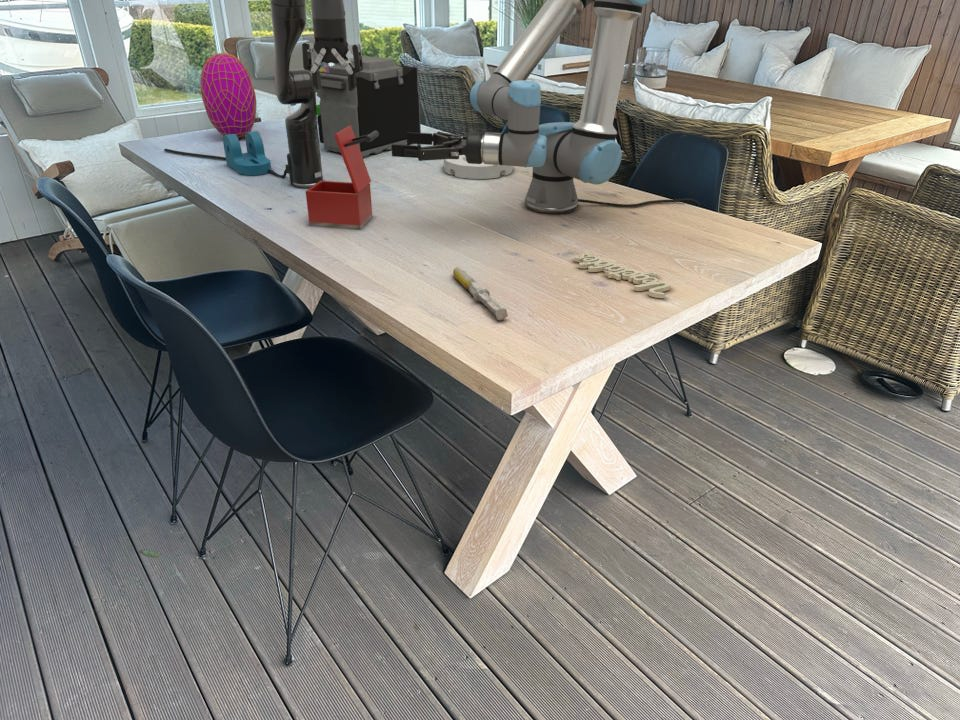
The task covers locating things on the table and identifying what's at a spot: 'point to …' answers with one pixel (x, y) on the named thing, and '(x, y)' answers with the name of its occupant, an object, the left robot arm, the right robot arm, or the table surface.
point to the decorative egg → (228, 95)
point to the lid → (354, 156)
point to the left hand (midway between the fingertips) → (335, 89)
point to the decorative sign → (625, 274)
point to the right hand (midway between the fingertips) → (399, 143)
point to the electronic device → (370, 104)
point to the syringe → (479, 293)
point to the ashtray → (474, 169)
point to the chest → (338, 205)
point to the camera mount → (246, 154)
